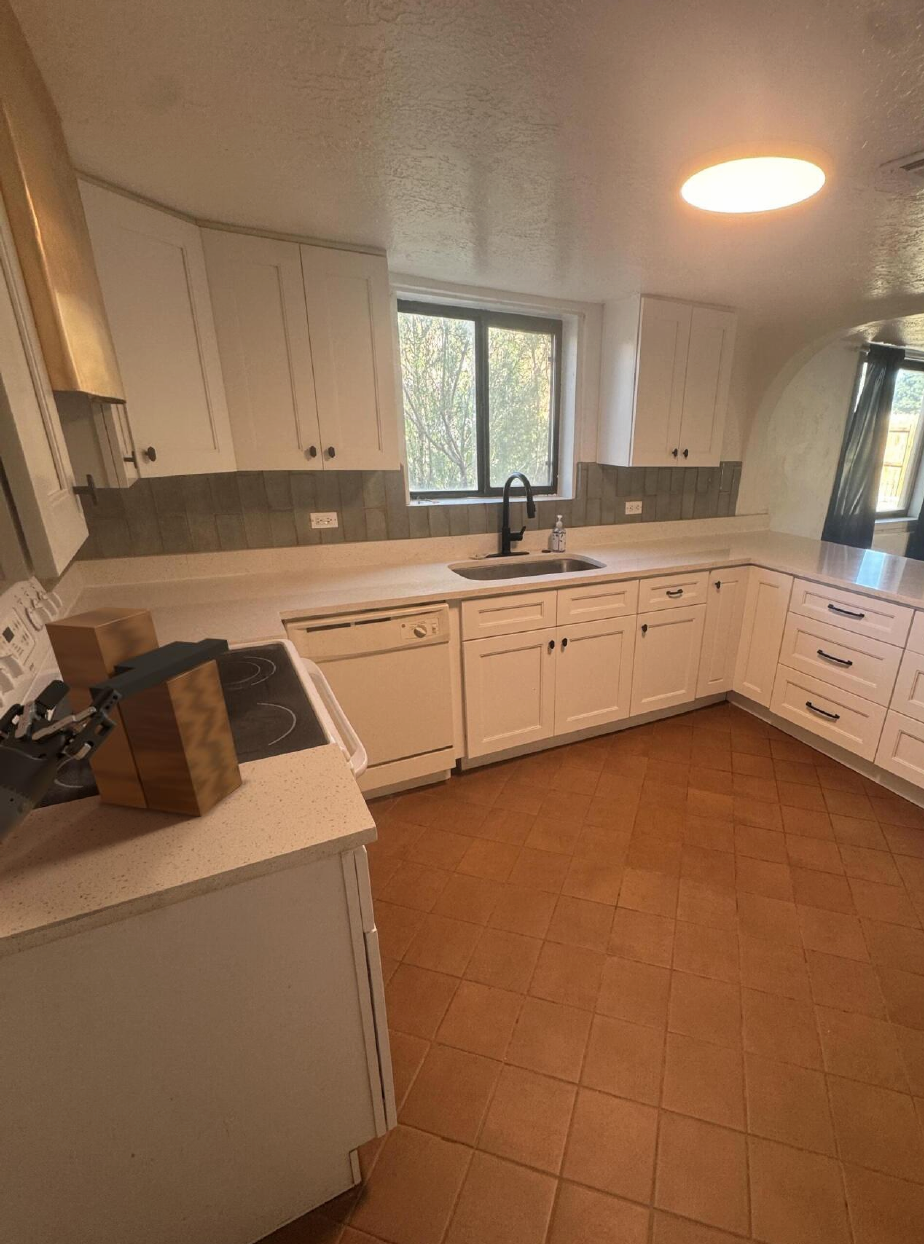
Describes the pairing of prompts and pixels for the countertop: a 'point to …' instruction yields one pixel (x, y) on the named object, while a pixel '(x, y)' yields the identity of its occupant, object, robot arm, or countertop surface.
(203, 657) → the long pad
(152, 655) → the short pad
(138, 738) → the step stand
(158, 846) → the countertop surface
